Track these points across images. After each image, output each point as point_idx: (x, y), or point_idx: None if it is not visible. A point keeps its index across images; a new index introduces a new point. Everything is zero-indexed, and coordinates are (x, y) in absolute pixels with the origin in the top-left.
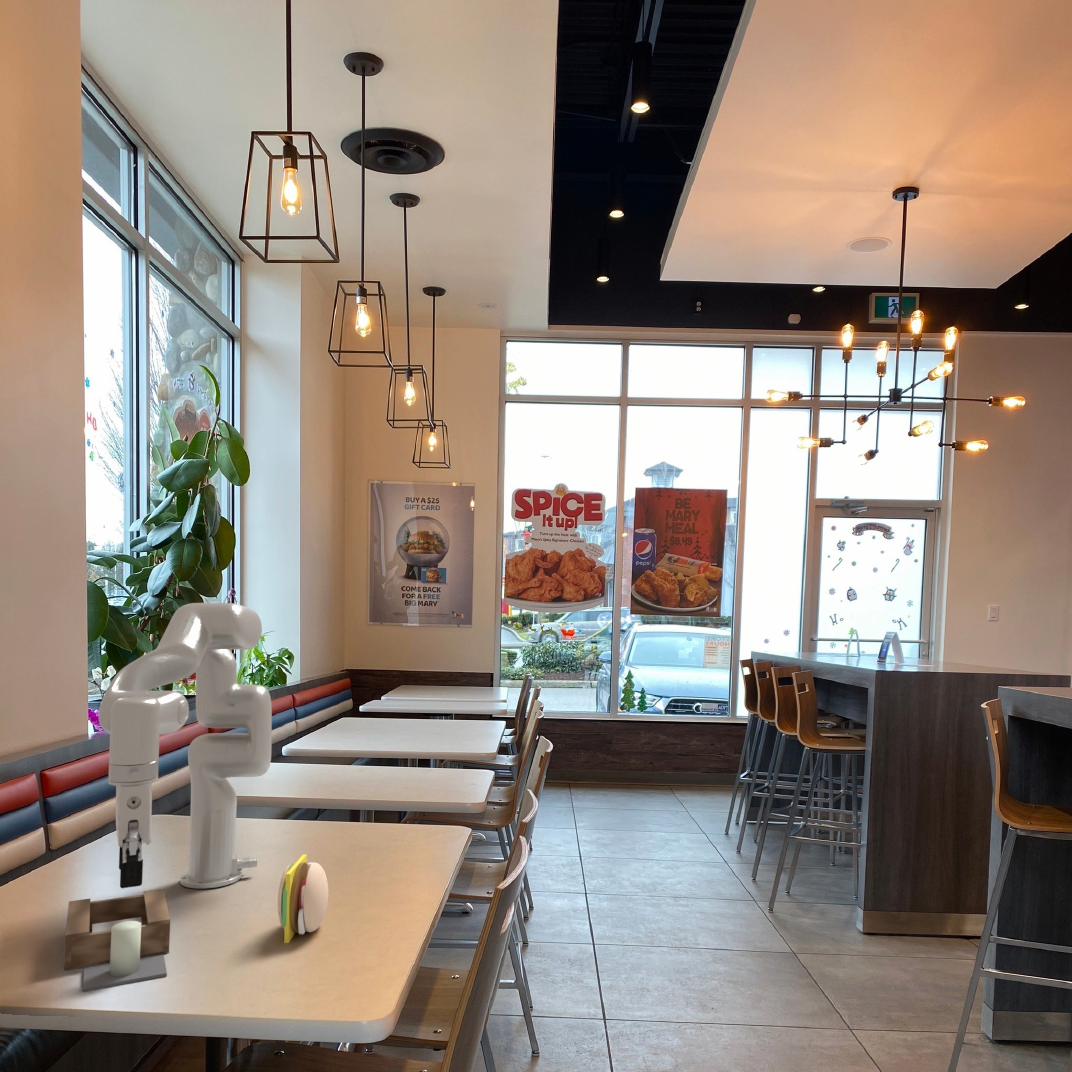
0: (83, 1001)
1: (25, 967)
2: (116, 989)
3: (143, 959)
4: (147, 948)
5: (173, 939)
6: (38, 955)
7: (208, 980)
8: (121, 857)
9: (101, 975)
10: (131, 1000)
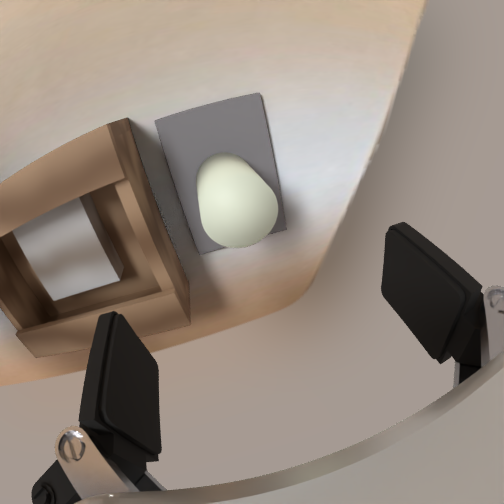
0: (322, 214)
1: (170, 332)
2: (293, 174)
3: (172, 156)
4: (137, 161)
5: (58, 134)
6: None
7: (298, 19)
8: (156, 407)
9: None
10: (344, 141)
